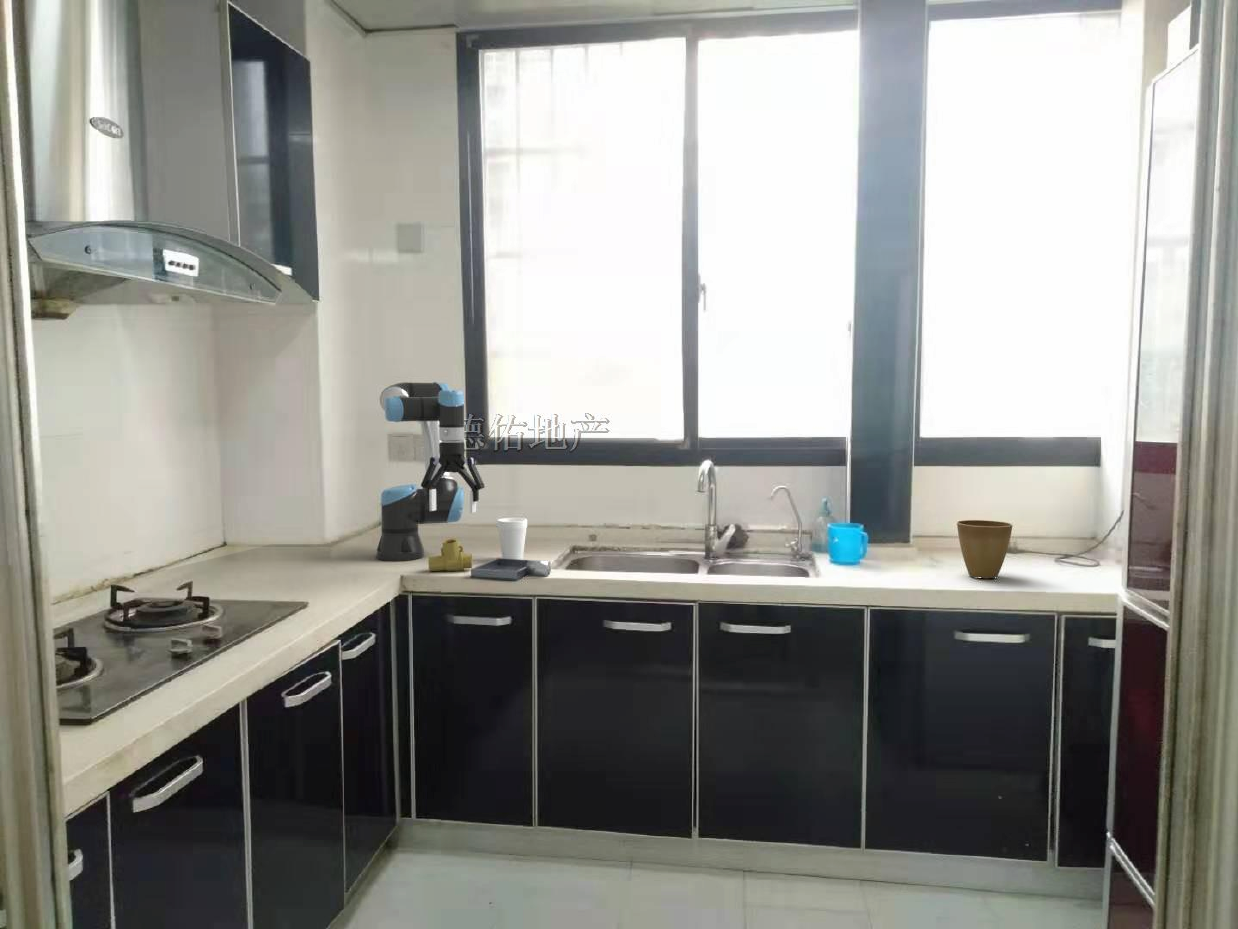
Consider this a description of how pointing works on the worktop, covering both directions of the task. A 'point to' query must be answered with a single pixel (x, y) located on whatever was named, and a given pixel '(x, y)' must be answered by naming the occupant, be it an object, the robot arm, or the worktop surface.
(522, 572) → the fitting cradle
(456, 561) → the ball valve
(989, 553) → the plant pot
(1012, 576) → the worktop surface
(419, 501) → the robot arm
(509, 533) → the foam cup
